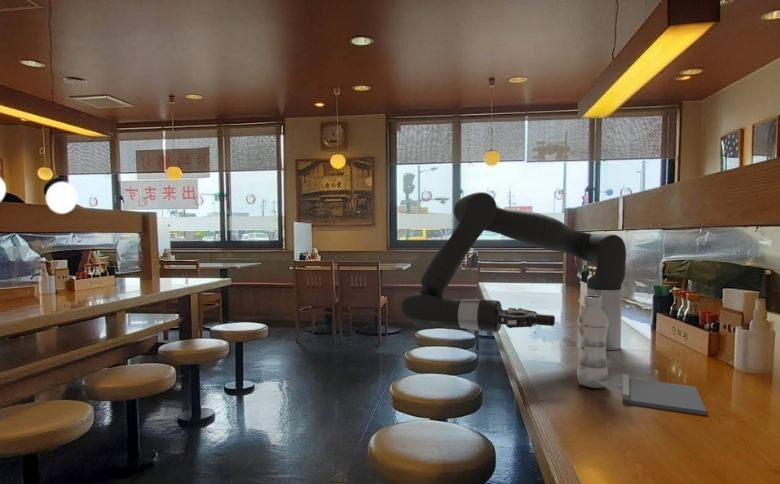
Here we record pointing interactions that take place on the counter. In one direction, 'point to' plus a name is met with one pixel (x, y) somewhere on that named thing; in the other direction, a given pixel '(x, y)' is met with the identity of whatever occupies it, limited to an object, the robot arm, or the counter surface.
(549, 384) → the counter surface
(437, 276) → the robot arm
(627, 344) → the counter surface
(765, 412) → the counter surface
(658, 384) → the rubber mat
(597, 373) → the silver aluminum bottle
